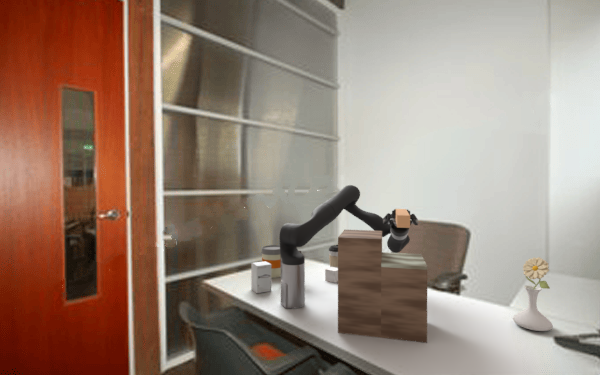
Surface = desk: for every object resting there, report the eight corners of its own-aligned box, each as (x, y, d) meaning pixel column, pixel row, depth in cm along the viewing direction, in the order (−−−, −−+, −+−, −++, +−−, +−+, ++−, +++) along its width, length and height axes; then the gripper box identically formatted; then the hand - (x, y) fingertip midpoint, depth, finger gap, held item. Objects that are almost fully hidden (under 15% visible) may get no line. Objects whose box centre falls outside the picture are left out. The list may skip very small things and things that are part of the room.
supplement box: (256, 294, 151) (256, 265, 150) (251, 289, 157) (251, 262, 157) (271, 291, 154) (271, 264, 154) (265, 286, 161) (265, 260, 160)
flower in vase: (505, 320, 122) (506, 251, 122) (537, 320, 122) (538, 251, 121) (529, 336, 109) (530, 260, 109) (565, 337, 109) (566, 260, 108)
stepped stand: (344, 312, 130) (344, 229, 129) (421, 319, 123) (421, 232, 122) (337, 332, 112) (337, 237, 111) (426, 342, 105) (427, 241, 104)
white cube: (325, 280, 170) (325, 269, 170) (331, 278, 175) (331, 266, 175) (335, 283, 167) (335, 271, 166) (341, 280, 171) (341, 268, 171)
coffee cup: (340, 276, 179) (340, 247, 178) (325, 273, 183) (325, 246, 183) (347, 272, 186) (347, 245, 186) (333, 269, 191) (333, 243, 191)
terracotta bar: (395, 218, 133) (395, 208, 133) (405, 219, 132) (405, 209, 132) (397, 227, 109) (397, 215, 109) (410, 227, 108) (410, 215, 108)
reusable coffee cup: (276, 270, 189) (275, 244, 189) (289, 275, 180) (289, 247, 179) (257, 274, 181) (256, 247, 181) (270, 280, 172) (270, 250, 171)
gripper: (382, 219, 145) (381, 202, 130) (417, 220, 141) (420, 203, 127) (382, 236, 142) (381, 220, 127) (417, 237, 138) (421, 221, 123)
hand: (401, 211), depth 127 cm, fingers closed on terracotta bar, 4 cm apart
